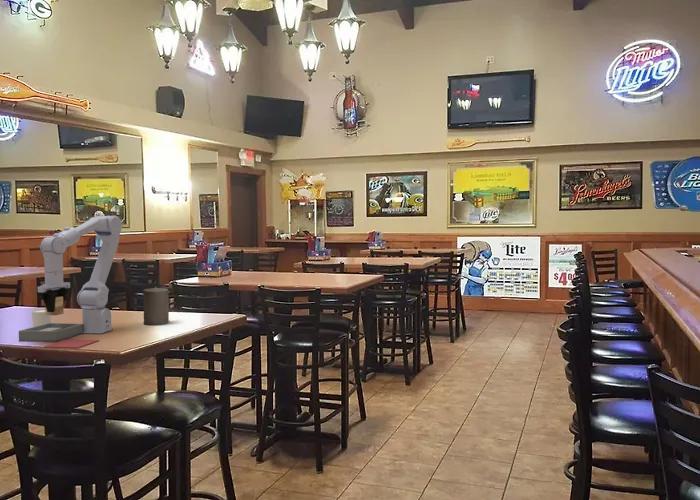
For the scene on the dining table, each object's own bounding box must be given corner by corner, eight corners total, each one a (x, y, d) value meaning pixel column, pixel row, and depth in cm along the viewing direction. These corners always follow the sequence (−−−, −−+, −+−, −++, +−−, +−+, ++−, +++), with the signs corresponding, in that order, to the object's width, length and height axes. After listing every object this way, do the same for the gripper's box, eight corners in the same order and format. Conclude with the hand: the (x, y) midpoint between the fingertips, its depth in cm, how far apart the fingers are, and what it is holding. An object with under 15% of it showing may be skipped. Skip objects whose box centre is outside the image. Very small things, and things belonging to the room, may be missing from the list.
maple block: (63, 313, 208) (63, 296, 208) (56, 315, 204) (55, 297, 204) (53, 313, 209) (52, 296, 209) (45, 315, 205) (44, 297, 205)
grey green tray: (83, 333, 220) (83, 323, 220) (56, 341, 204) (55, 331, 204) (48, 332, 222) (48, 323, 222) (18, 340, 206) (18, 330, 206)
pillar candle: (138, 324, 238) (137, 286, 237) (156, 320, 247) (156, 284, 246) (156, 326, 233) (155, 288, 233) (174, 322, 242) (173, 285, 241)
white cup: (30, 331, 225) (29, 312, 224) (34, 328, 231) (34, 310, 231) (50, 330, 226) (49, 311, 226) (54, 327, 233) (53, 309, 233)
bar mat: (99, 341, 205) (99, 339, 205) (78, 348, 193) (78, 347, 193) (66, 340, 207) (66, 339, 207) (44, 347, 195) (44, 346, 195)
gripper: (57, 269, 214) (58, 307, 214) (28, 273, 200) (30, 313, 200) (75, 270, 213) (76, 308, 213) (47, 273, 198) (49, 314, 199)
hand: (55, 311), depth 207 cm, fingers closed on maple block, 4 cm apart
